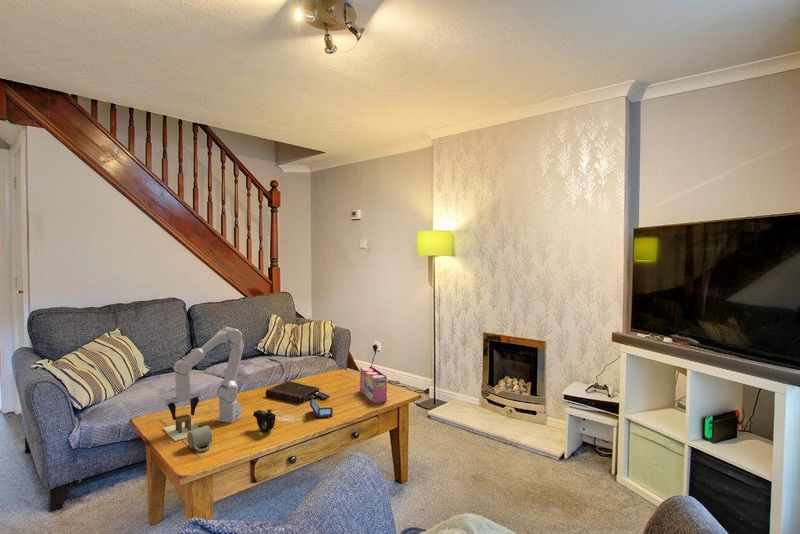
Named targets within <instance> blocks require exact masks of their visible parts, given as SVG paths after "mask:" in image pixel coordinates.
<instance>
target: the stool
mask: <svg viewBox="0 0 800 534" xmlns="http://www.w3.org/2000/svg"><path fill="white" fill-rule="evenodd" d="M191 421H192V417H191V416H190V415H189V414H188V413H185V414H181V415H176V420H175V425H176V431H177V430H178V433H182V423H184V422H185V428H187V430H188V431H190V430H191Z"/></svg>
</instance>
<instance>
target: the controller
mask: <svg viewBox="0 0 800 534" xmlns="http://www.w3.org/2000/svg"><path fill="white" fill-rule="evenodd" d="M272 411H273V409H267V410H266V411H265V410H261V409H258V410H255V411H253V414H252V415H253V417H254V418H255V419H256V422H257V423H256V424H257V426H258V428H259V429H260V430H261V431H262V432H265V433H266V432H269V431H272V429H274V426H275V424H276V423H275V422H276V416H277V415H276V414H275V413H273V412H272Z"/></svg>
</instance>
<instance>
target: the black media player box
mask: <svg viewBox="0 0 800 534" xmlns="http://www.w3.org/2000/svg"><path fill="white" fill-rule="evenodd" d="M320 389H322V387H318V386H313V385H308V384H307V385H306V384H304V383H300V382H296V381H290V380H287V381H284V382H281V383H279V384H276V385H274V386H272V387H270V388H267V389H266V391H265V397H266V398H269V397H270V399H274V398H275V400H278V399H279V400H278V401H282V400H283V402H287V401H288V403H292V404H296V403H297V405H300V404H301V405H302V404H303V403H305V402H307V401H306V400H308V399H309V398H310V397H311V396H312V395H313V394H314V393H316V392H319V393H320ZM304 401H305V402H304ZM308 401H309V400H308Z"/></svg>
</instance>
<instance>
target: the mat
mask: <svg viewBox="0 0 800 534" xmlns="http://www.w3.org/2000/svg"><path fill="white" fill-rule="evenodd" d="M198 428H200V426H198V425H197V424H196V423H194V421H192V420H191V430H190V431H192V430H195V429H198ZM162 429H163V430H164V432H165V431H166V434H168V436H169V437H170V438H171V439H172V441H174V442H175V441H176V442H179V441H178V440H180V441H182V440H181V439H183V440H186V439H185V438H187V434H188V432H190V431H188V430H187V428H185V422H182V433H178V430H177V431H176V424H173V425H168V426H165V427H162Z"/></svg>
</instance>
